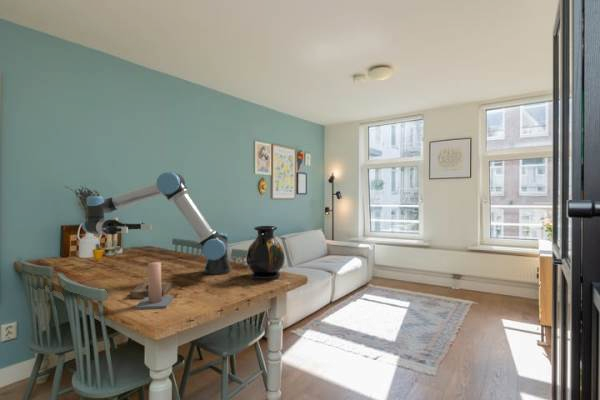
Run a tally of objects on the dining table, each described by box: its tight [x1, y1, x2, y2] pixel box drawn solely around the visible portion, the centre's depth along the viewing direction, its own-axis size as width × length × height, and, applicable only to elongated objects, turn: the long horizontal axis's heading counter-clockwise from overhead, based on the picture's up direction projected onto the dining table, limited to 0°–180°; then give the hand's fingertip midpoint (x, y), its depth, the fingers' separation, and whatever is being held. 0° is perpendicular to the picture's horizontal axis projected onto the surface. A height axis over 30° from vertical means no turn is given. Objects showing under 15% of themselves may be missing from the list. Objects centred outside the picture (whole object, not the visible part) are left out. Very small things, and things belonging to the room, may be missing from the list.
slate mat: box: [134, 295, 175, 310], centre depth 133 cm, size 12×12×1 cm
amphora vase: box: [245, 225, 286, 281], centre depth 177 cm, size 22×22×28 cm
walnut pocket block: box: [129, 281, 173, 299], centre depth 147 cm, size 14×14×3 cm
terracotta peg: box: [147, 261, 162, 303], centre depth 133 cm, size 5×5×16 cm
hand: (139, 228), depth 153 cm, fingers open, 13 cm apart
